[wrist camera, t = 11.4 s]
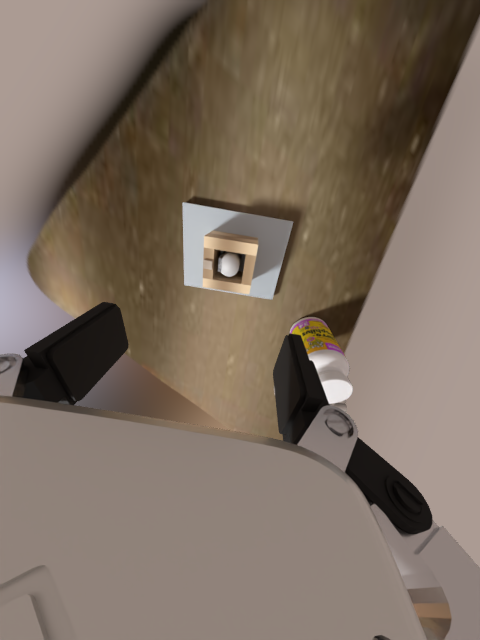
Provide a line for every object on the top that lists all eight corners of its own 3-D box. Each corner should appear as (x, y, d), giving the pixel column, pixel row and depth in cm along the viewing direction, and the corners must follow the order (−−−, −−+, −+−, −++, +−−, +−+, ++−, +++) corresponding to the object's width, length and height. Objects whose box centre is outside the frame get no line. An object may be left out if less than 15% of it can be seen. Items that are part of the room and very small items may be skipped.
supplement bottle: (332, 317, 31) (373, 377, 20) (320, 346, 35) (350, 410, 24) (293, 313, 31) (313, 371, 20) (285, 343, 35) (298, 405, 24)
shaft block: (291, 221, 24) (301, 225, 19) (271, 296, 30) (274, 315, 25) (185, 202, 23) (166, 201, 18) (186, 282, 29) (172, 298, 24)
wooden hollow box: (257, 237, 24) (258, 245, 20) (250, 280, 27) (249, 295, 23) (212, 230, 24) (203, 236, 19) (210, 274, 27) (201, 288, 23)
